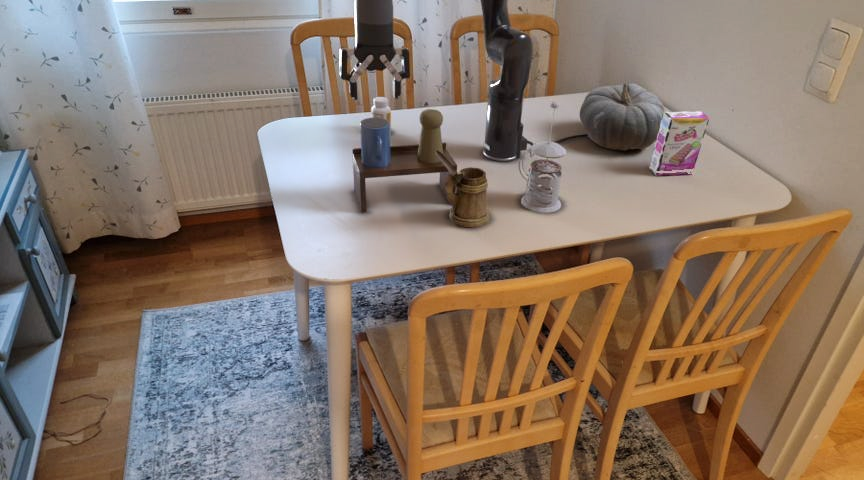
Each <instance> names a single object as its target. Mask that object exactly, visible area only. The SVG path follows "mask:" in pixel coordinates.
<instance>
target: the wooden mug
mask: <svg viewBox="0 0 864 480" xmlns="http://www.w3.org/2000/svg"><path fill="white" fill-rule="evenodd" d="M436 155H437V156H438V158H439V159H440V160H441V161H442V163H443V164H444V165H445V166H446V168H447V169H448V170H449V172H450V173H449V175H448V177H447V180H446V183H445V192H446V195H447V197H448V199H449V200H450V202H451V204H450V205H451V207H450V211H449V218H450V220H451V221H452V222H453V223H454V224H455V225H457V226H460V227H464V228H479V227H482V226H484V225H486V224H487V223H488V222H489V220H490V212H489V209H488V196H487V195H488V194H487V193H488V192H487V189H488V186H489V185H488V179H487V173H486V172H485V170H483V169H482V168H479V167H466V168H462V169H460V170H459V171H458V170H457V171H456V169H455V168H454V167H453V165H452V164H451V163H450V162H449V160H448V159H447V158H446V157H445V156H444V155H443V154H442V153H441V152H440V151H438V150H436ZM454 185H455V186H456V191H455V194H454V193H453V192H452V189H453V186H454Z"/></svg>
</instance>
